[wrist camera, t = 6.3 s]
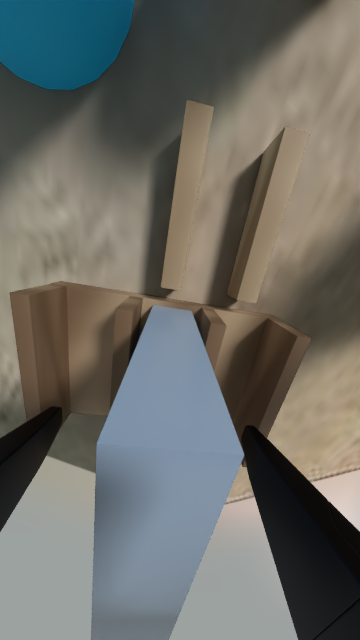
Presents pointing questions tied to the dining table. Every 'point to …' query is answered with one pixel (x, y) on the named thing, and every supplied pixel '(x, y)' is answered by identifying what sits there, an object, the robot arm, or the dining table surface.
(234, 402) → the rack
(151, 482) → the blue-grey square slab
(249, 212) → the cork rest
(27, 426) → the robot arm
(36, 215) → the dining table surface
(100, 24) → the mug
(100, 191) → the dining table surface
